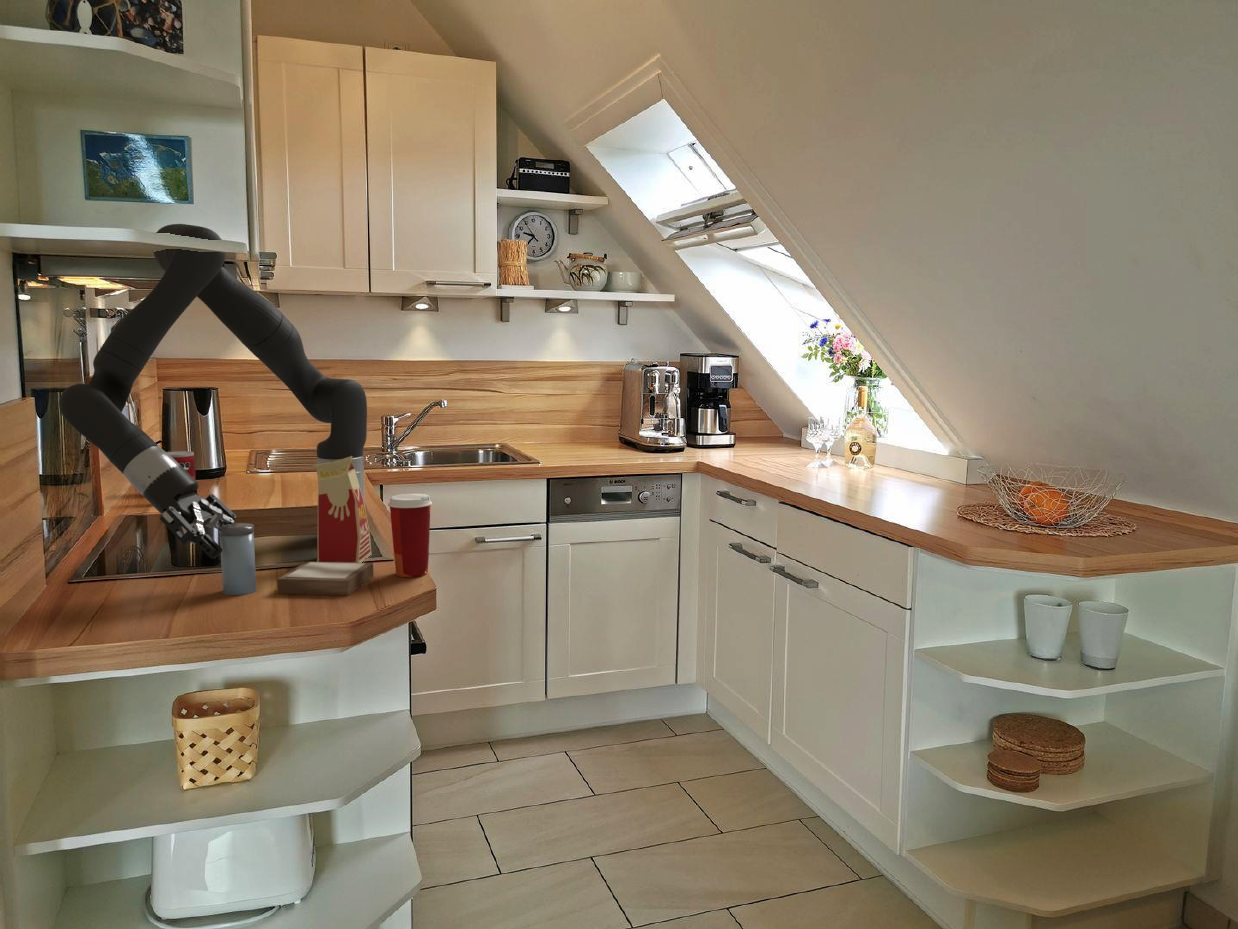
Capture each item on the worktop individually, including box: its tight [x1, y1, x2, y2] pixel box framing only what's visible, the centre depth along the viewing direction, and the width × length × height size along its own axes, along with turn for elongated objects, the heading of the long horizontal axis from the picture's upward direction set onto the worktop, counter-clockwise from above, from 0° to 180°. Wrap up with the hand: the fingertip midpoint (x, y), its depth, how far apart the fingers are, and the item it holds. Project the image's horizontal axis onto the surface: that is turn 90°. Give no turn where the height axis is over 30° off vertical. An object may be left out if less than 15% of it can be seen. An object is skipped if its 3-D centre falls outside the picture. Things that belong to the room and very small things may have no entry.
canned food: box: [166, 450, 197, 481], centre depth 249 cm, size 8×8×11 cm
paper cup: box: [387, 493, 433, 578], centre depth 168 cm, size 8×8×14 cm
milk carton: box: [311, 456, 372, 563], centre depth 176 cm, size 9×9×20 cm
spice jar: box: [218, 522, 257, 596], centre depth 156 cm, size 5×5×11 cm
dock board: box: [276, 561, 374, 597], centre depth 160 cm, size 12×12×3 cm
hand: (231, 549), depth 156 cm, fingers open, 8 cm apart
